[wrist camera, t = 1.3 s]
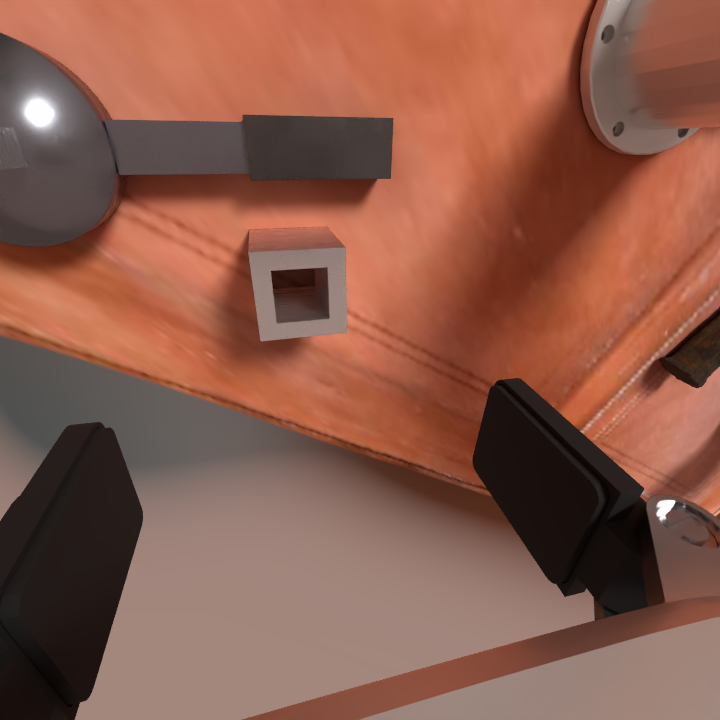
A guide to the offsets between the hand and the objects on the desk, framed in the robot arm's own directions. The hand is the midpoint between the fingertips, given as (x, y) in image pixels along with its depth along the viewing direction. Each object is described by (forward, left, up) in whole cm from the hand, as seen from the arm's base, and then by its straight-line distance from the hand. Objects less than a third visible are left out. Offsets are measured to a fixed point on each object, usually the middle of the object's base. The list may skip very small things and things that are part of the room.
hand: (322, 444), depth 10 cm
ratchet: (+5, -6, -19) cm, 20 cm away
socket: (-1, +1, -19) cm, 19 cm away
